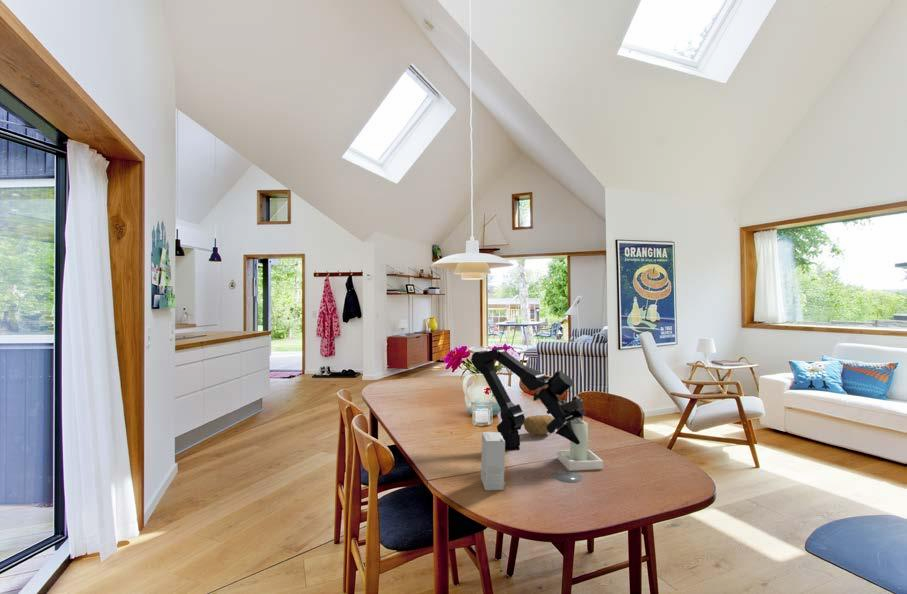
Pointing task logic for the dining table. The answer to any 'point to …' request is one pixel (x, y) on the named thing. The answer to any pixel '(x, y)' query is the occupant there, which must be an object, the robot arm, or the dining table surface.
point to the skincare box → (493, 461)
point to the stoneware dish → (571, 465)
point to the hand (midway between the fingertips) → (582, 441)
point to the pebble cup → (581, 433)
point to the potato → (537, 424)
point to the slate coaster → (567, 477)
